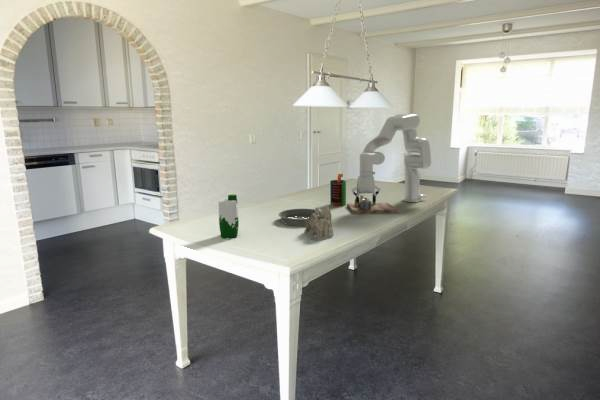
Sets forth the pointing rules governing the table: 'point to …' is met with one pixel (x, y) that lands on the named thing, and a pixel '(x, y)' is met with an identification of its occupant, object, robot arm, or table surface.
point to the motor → (338, 191)
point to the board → (372, 208)
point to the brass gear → (358, 203)
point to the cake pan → (299, 214)
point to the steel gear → (365, 205)
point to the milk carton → (228, 217)
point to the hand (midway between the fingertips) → (365, 202)
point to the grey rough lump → (319, 225)
